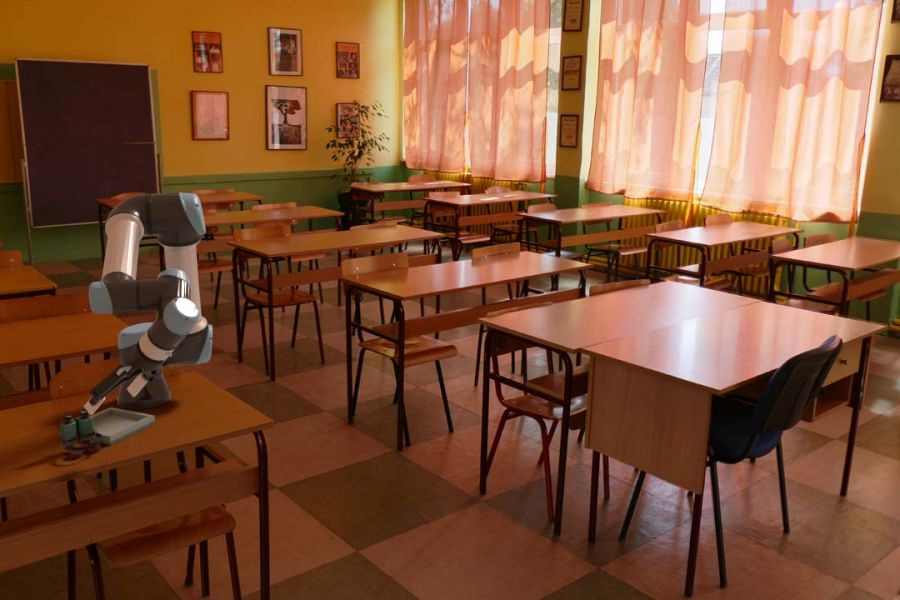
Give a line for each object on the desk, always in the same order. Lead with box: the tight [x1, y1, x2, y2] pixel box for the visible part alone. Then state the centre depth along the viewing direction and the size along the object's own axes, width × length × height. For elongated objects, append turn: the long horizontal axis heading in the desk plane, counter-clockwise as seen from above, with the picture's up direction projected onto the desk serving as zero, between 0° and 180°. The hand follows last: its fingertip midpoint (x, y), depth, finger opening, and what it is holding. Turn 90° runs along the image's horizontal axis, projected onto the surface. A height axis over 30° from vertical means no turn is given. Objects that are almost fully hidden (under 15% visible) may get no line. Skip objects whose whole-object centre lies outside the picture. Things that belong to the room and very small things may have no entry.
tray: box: [90, 406, 156, 446], centre depth 215 cm, size 16×16×2 cm
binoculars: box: [59, 408, 102, 459], centre depth 200 cm, size 9×11×10 cm
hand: (110, 401), depth 193 cm, fingers open, 13 cm apart
